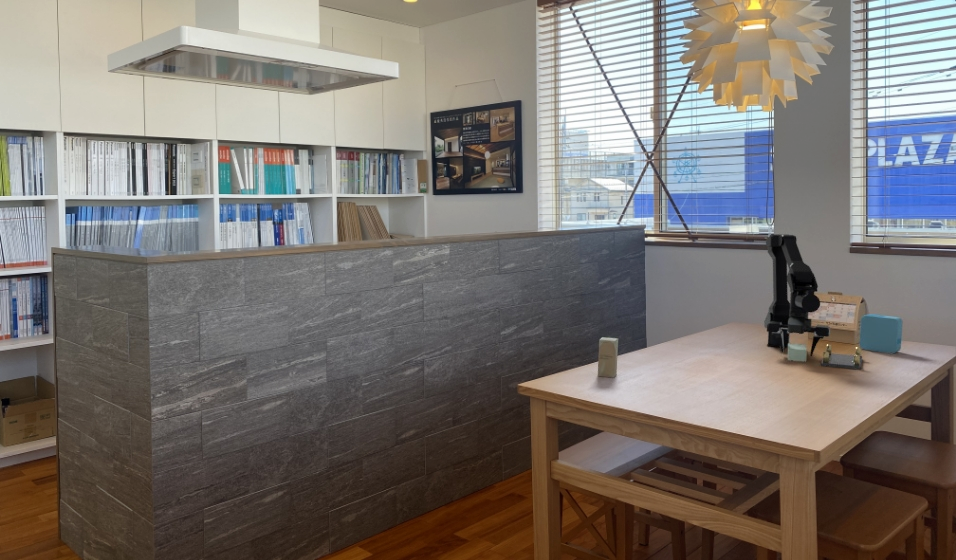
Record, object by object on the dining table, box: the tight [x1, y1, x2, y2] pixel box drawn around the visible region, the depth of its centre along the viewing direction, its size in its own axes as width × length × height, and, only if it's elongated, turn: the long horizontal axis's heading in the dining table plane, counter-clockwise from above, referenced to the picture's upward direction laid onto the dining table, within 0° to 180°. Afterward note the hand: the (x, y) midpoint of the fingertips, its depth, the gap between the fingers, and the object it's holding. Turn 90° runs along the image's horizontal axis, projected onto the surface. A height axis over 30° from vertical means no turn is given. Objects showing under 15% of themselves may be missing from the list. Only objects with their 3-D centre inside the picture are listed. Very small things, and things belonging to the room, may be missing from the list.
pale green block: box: [787, 342, 808, 362], centre depth 252 cm, size 6×10×4 cm, turn 158°
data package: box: [858, 313, 904, 354], centre depth 264 cm, size 12×4×12 cm, turn 44°
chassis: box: [820, 344, 863, 371], centre depth 246 cm, size 11×17×4 cm, turn 152°
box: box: [597, 336, 619, 378], centre depth 227 cm, size 5×4×11 cm
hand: (796, 354), depth 253 cm, fingers open, 8 cm apart
